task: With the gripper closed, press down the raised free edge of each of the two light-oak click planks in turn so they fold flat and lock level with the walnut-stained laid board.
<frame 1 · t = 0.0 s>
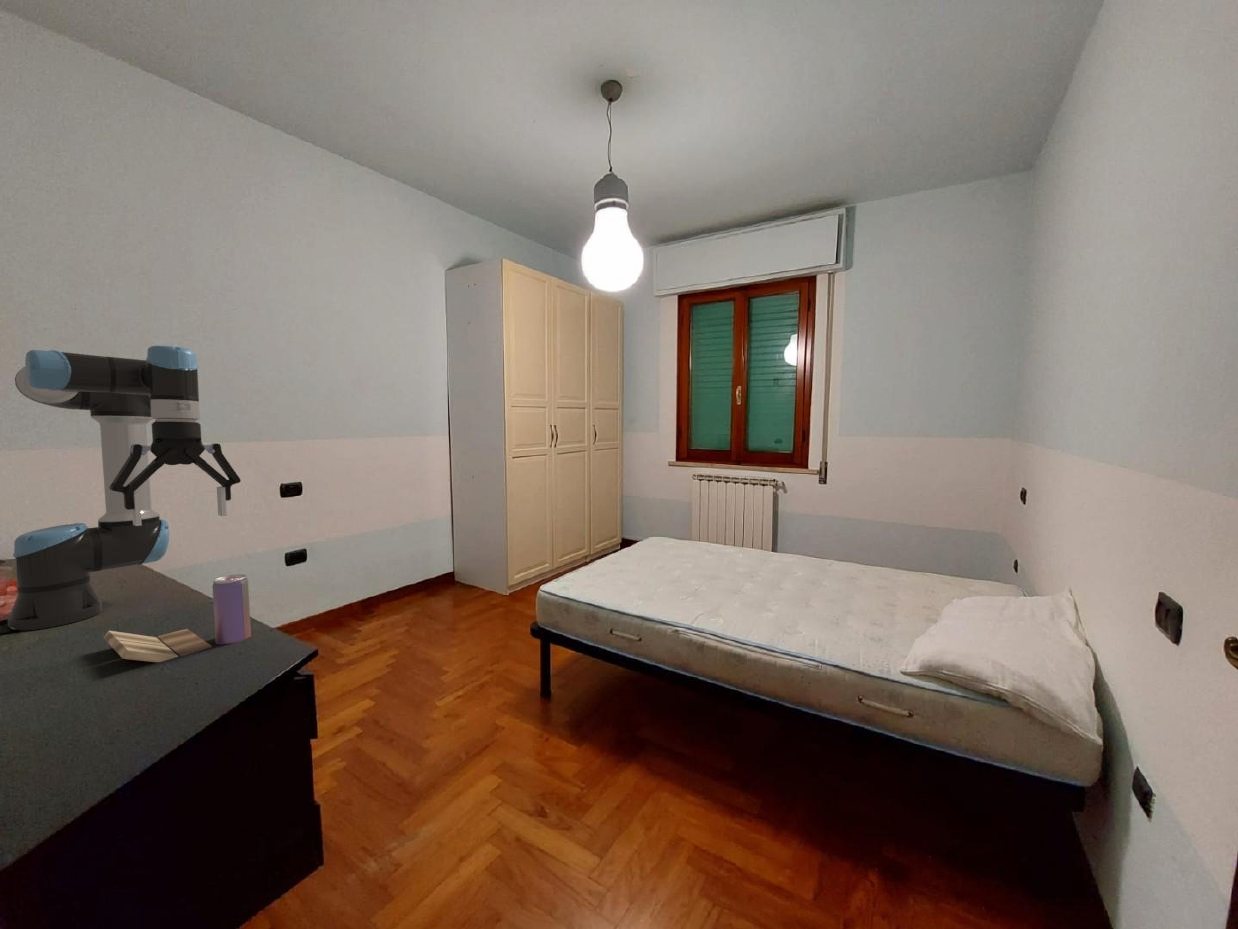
hand: (182, 520, 99), 28 cm above the cabinet, fingers open, 13 cm apart
oak plank 2: (146, 652, 92), point 3 cm above the cabinet, hinge at 30.0°
beverage can: (233, 645, 102), on the cabinet
laid board: (184, 648, 100), on the cabinet
oak plank 1: (135, 642, 97), point 3 cm above the cabinet, hinge at 30.0°
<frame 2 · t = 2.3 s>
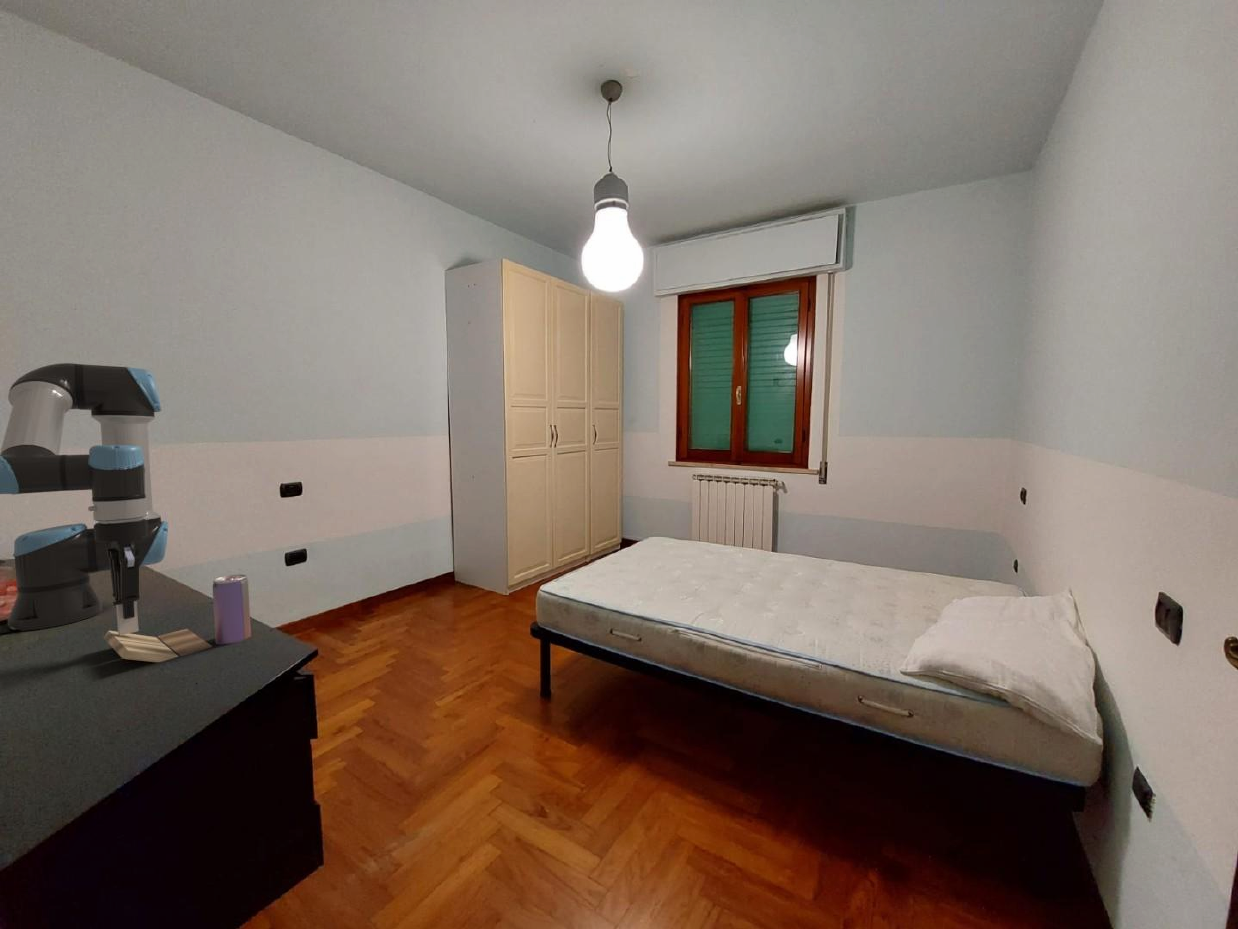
hand: (128, 632, 96), 5 cm above the cabinet, fingers closed
oak plank 1: (135, 642, 97), point 3 cm above the cabinet, hinge at 30.0°, touching gripper
everything else where it was.
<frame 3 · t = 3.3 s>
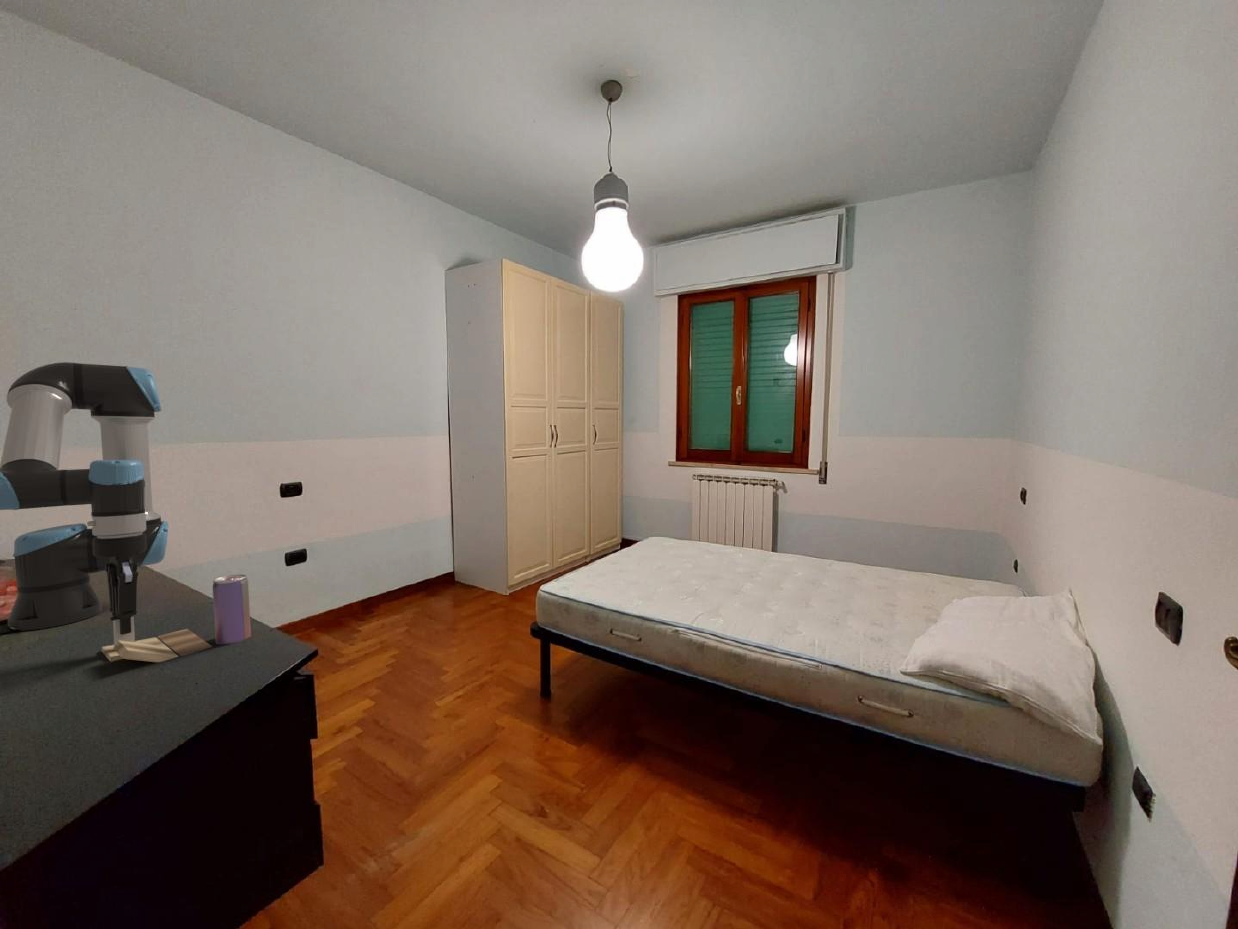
hand: (124, 647, 95), 2 cm above the cabinet, fingers closed
oak plank 1: (134, 650, 97), point 1 cm above the cabinet, hinge at 6.3°, touching gripper
everything else where it was.
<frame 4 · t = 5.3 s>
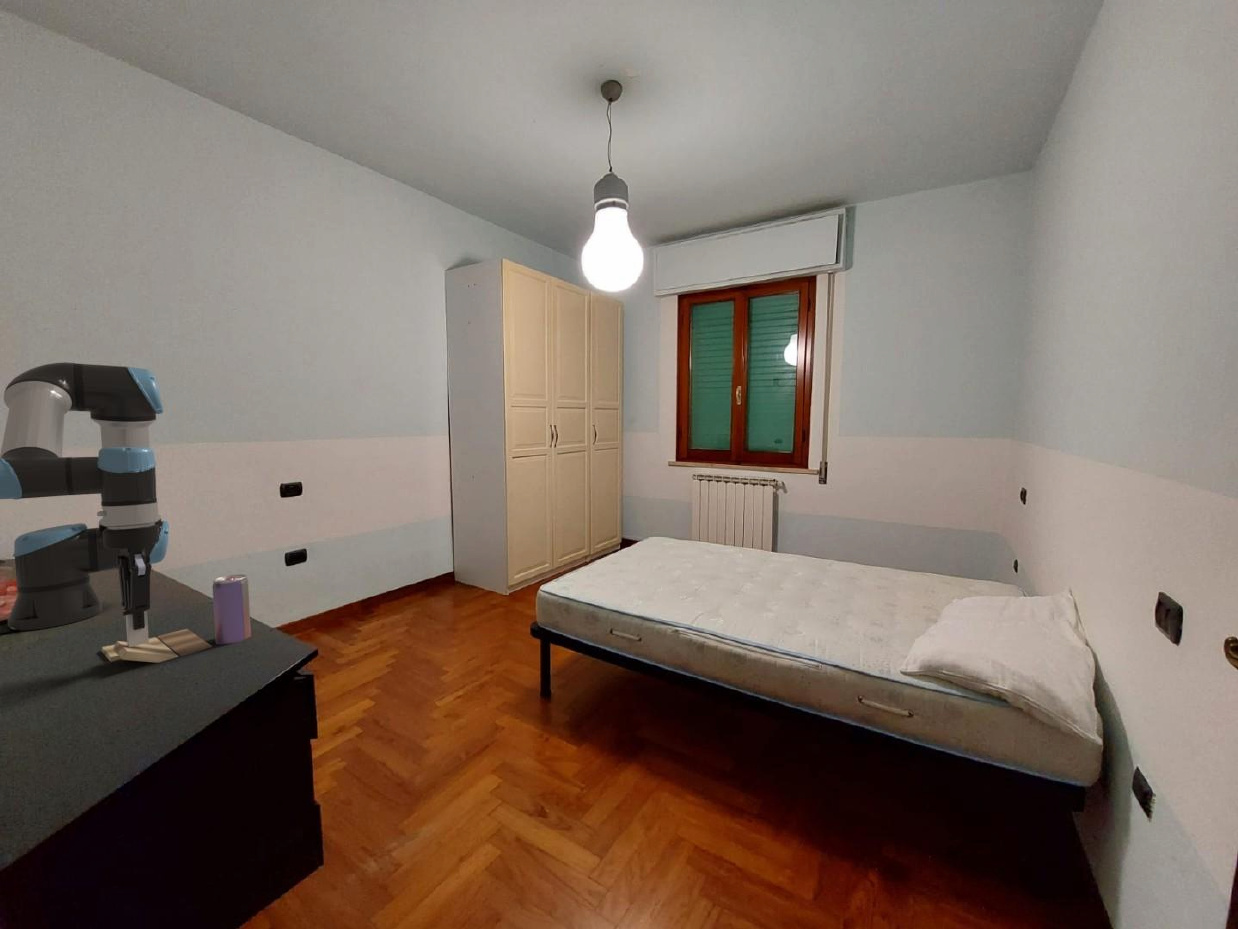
hand: (138, 643, 91), 5 cm above the cabinet, fingers closed
oak plank 2: (145, 652, 92), point 3 cm above the cabinet, hinge at 28.8°, touching gripper
oak plank 1: (134, 650, 97), point 1 cm above the cabinet, hinge at 6.2°
everything else where it was.
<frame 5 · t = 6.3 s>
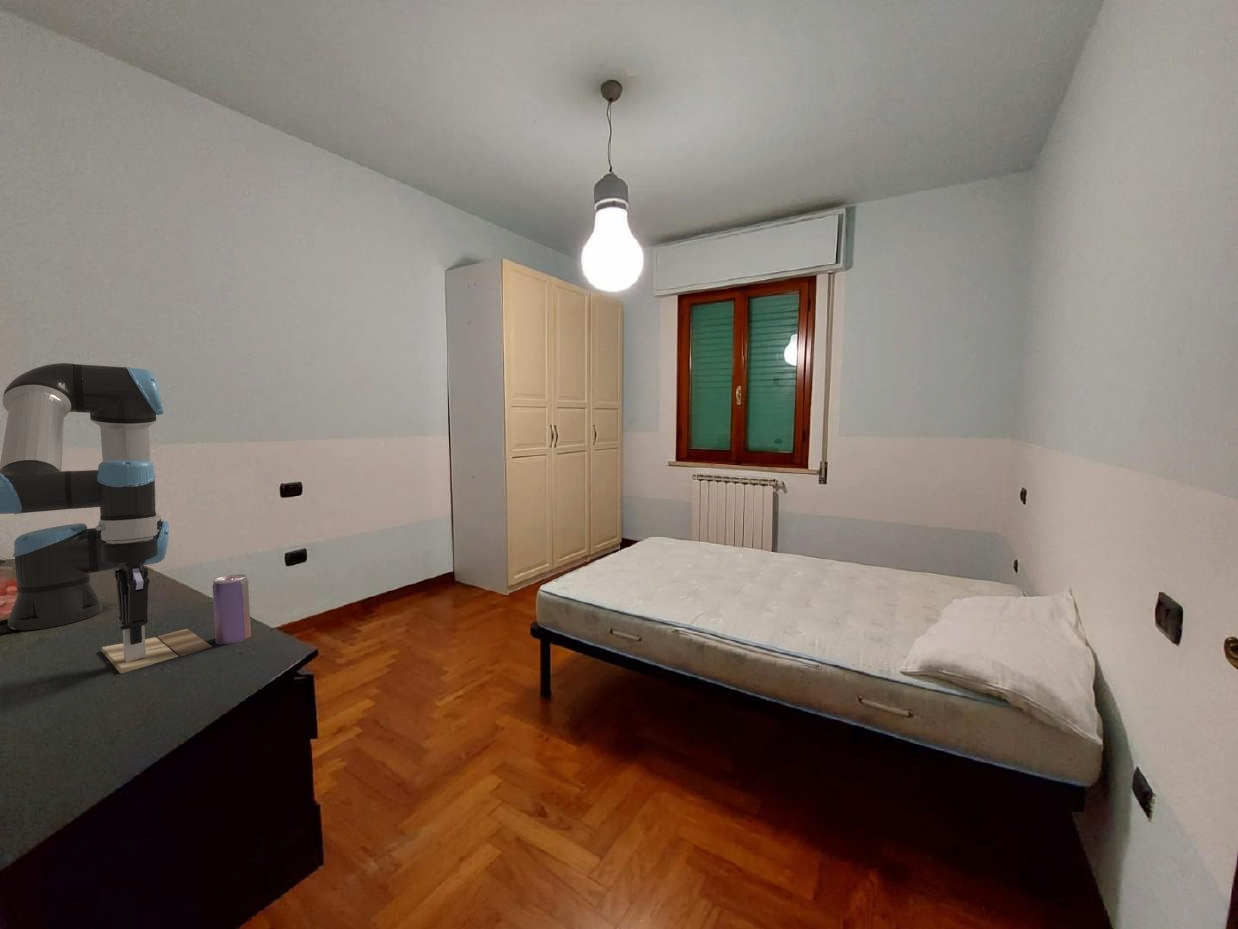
hand: (135, 658, 91), 2 cm above the cabinet, fingers closed
oak plank 2: (145, 660, 92), point 1 cm above the cabinet, hinge at 7.0°, touching gripper
everything else where it was.
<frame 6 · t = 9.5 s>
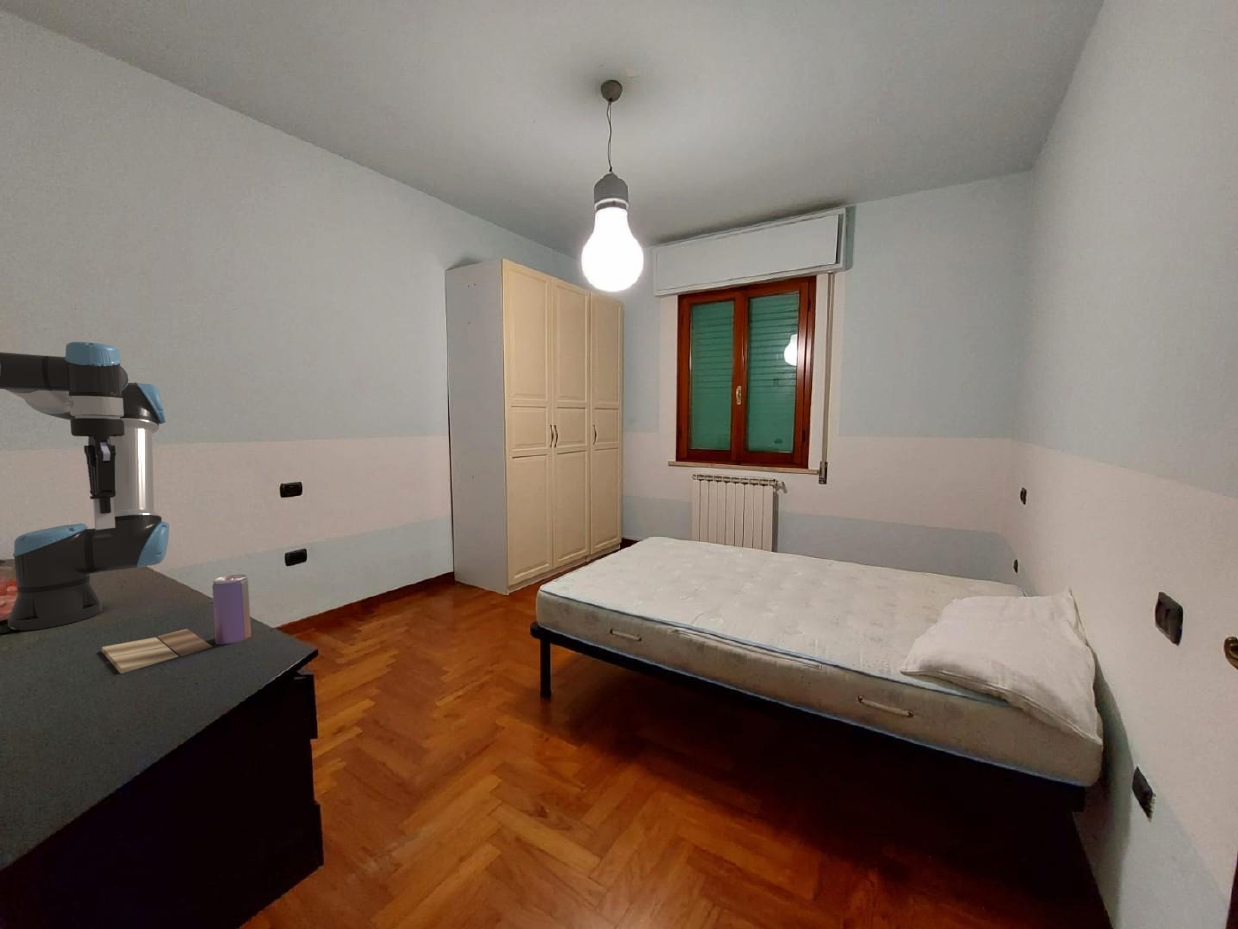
hand: (105, 528, 99), 26 cm above the cabinet, fingers closed
oak plank 2: (145, 660, 92), point 1 cm above the cabinet, hinge at 6.9°
everything else where it was.
at the end: oak plank 1 at +6° (first picture: +30°); oak plank 2 at +7° (first picture: +30°) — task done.
